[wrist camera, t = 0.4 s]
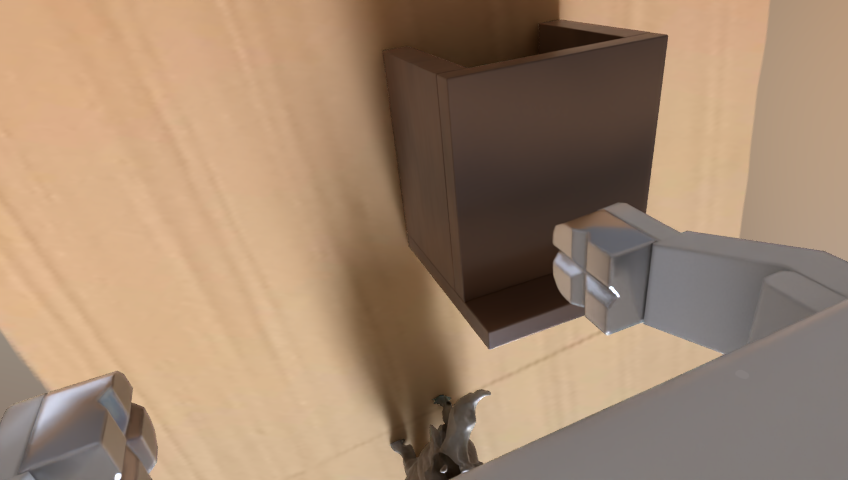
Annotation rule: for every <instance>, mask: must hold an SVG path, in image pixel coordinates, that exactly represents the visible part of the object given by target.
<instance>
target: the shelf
mask: <svg viewBox="0 0 848 480" xmlns="http://www.w3.org/2000/svg"><path fill="white" fill-rule="evenodd" d="M667 41H668V35H665V34H658V33H650V32H645V31H638V30H630V29H623V28H616V27H609V26H602V25H595V24H588V23H581V22H574V21H567V20H554V21H549V22H543V23H539V54H538V55H533V56H528V57H523V58H518V59H512V60H507V61H502V62H497V63H492V64H487V65H482V66H476V67H471V68H466V67H464V66H461V65H458V64H455V63H453V62H450V61H447V60H444V59H442V58H439V57H436V56H433V55H431V54H428V53H425V52H422V51H420V50H417V49H414V48H411V47H409V46H406V47H400V48H394V49H388V50H383V59H384V66H385V73H386V81H387V88H388V96H389V103H390V111H391V118H392V126H393V133H394V140H395V148H396V155H397V163H398V170H399V178H400V185H401V193H402V200H403V207H404V215H405V222H406V230H407V236H408V243H409V247H410V248H411V250H412V251H413V252H414V254H415V255H416V256H417V257H418V259H419V260H420V261H421V263H422V264H423V265H424V266H425V268H426V269H427V270H428V272H429V273H430V274H431V275H432V277H433V278H434V279H435V281H436V282H437V283H438V284H439V286H440V287H441V288H442V290H443V291H444V292H445V293H446V295H447V296H448V297H449V299H450V300H451V301H452V302H453V304H454V305H455V306H456V308H457V309H458V310H459V311H460V313H461V314H462V315H463V317H464V318H465V319H466V320H467V322H468V323H469V324H470V326H471V327H472V328H473V329H474V331H475V332H476V333H477V335H478V336H479V337H480V338H481V340H482V341H483V342H484V344H485V345H486V346H487V347H488V349H493V348H496V347H499V346H501V345H504V344H507V343H510V342H512V341H515V340H518V339H521V338H523V337H526V336H529V335H532V334H534V333H537V332H540V331H543V330H545V329H548V328H551V327H554V326H556V325H559V324H562V323H565V322H567V321H570V320H573V319H576V318H578V317H581V316H584V315H585V310H584V307H581V306H577V305H573V304H571V303H569V302H568V301H567V300H566V299H565V298H564V297H563V296H562V294H561V293H560V291H559V290H558V288H557V285H556V282H555V280H554V277H553V261H554V259H555V257H556V256H557V254H558V252H559V250H558V249H557V248H556V247H555V246H554V245H553V231H554V229H555V226H556V225H558V224H561V223H564V222H567V221H570V220H573V219H575V218H578V217H581V216H584V215H587V214H590V213H593V212H595V211H598V210H599V209H602V208H605V207H607V206H610V205H613V204H615V203H618V202H619V203H627V204H629V205H630V206H632V207H634V208H636V209H638V210H640V211H641V212H643V213H645V214H646V208H647V200H648V192H649V184H650V176H651V168H652V160H653V152H654V144H655V136H656V128H657V120H658V113H659V105H660V97H661V89H662V81H663V73H664V65H665V57H666V49H667Z"/></svg>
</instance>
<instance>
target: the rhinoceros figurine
mask: <svg viewBox="0 0 848 480" xmlns="http://www.w3.org/2000/svg"><path fill="white" fill-rule="evenodd" d="M488 395H491V393H490V392H489V391H486V390H482V389H481V390H477V391H476V392H474V393H469V394H467V395H465V396H463V397H462V398H460V399H459V400H458V401H457V402H456V403H455V404H454V406H453V407H452V404H451V402H450V401H449V400H450V399H451V398H450V397H447V396H444V395H440V396H439V397H437V398H436V399H432V400H435V402H434V404H437V405H438V404H440V405H441V406H442V407H443V410H442V414H443V421H444V423H445V424H443V425H440V426H439V428H438V429H436V428H435V427H434V426H433V425H430V442H429V443H428V444H427V445H426V446H425V447H424V448H423V450H422V451H421V453H420V455H419V457H417V458H416V456H415V452H414V450H413V447H412V446H411V445H403V442H404V441H405V440H404V439H402V440H399V441H396V442H394V443H393V444H391V445H390V446H391V447H392V449H393V450H394V451H396V452H398V453H399V454H400V455H401V456H402V457H403V463H404V467H405V472H406V475H407V477H406V479H405V480H449V479H451V478H453V477H456V476H458V475H460V474H462V473H464V472H467V471H469V470H471V469H473V468H476V467H478V466H480V465H482V464H483V463H482V462H479V461H478V457H477V452H476V449H475V446H474V444H473V442H472V441H471V440H470V439H469V438H470V434H471V431H472V429H473V428H474V426H475V423H476V416H475V408H476V406H477V404H478V401H479V400H480V399H482V398H483V397H484V396H488Z"/></svg>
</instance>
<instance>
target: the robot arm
mask: <svg viewBox="0 0 848 480" xmlns="http://www.w3.org/2000/svg"><path fill="white" fill-rule="evenodd" d="M553 245H554V246H555V247H556V248H557V249H558V250H559V252H558V254H557V256H556V257H555V259H554V261H553V277H554V280H555V282H556V285H557V288H558V290H559V291H560V293H561V294H562V296H563V297H564V298H565V299H566V300H567V301H568V302H569V303H571V304H573V305H577V306H581V307H584V310H585V317H586V318H587V319H588V320H590V321H591V322H592V323H593V324H594V325H595V326H596V327H597V328H599V329H600V330H601V331H602V332H603V333H604V334H605V335H610V334H612V333H615V332H618V331H620V330H623V329H626V328H628V327H631V326H634V325H636V324H639V323H642V322H644V324H645V325H648V326H651V327H653V328H656V329H659V330H661V331H664V332H667V333H669V334H672V335H675V336H677V337H680V338H683V339H685V340H688V341H691V342H693V343H696V344H699V345H701V346H704V347H707V348H709V349H712V350H715V351H717V352H720V353H723V354H725V355H723V356H720V357H718V358H716V359H714V360H712V361H709V362H707V363H705V364H703V365H701V366H698V367H696V368H694V369H692V370H690V371H687V372H685V373H683V374H681V375H679V376H676V377H674V378H672V379H670V380H668V381H665V382H663V383H661V384H659V385H657V386H654V387H652V388H650V389H648V390H645V391H643V392H641V393H639V394H637V395H634V396H632V397H630V398H628V399H626V400H623V401H621V402H619V403H617V404H615V405H612V406H610V407H608V408H606V409H603V410H601V411H599V412H597V413H595V414H592V415H590V416H588V417H586V418H584V419H581V420H579V421H577V422H575V423H573V424H570V425H568V426H566V427H564V428H561V429H559V430H557V431H555V432H553V433H550V434H548V435H546V436H544V437H542V438H539V439H537V440H535V441H533V442H531V443H528V444H526V445H524V446H522V447H520V448H517V449H515V450H513V451H511V452H509V453H506V454H504V455H502V456H500V457H498V458H495V459H493V460H491V461H489V462H487V463H484V464H482V465H480V466H478V467H476V468H473V469H471V470H469V471H467V472H464V473H462V474H460V475H458V476H456V477H453V478H451V479H449V480H848V262H847V261H845V260H843V259H841V258H838V257H836V256H834V255H832V254H830V253H827V252H825V251H820V250H813V249H807V248H800V247H793V246H786V245H779V244H773V243H766V242H758V241H752V240H746V239H739V238H732V237H725V236H719V235H712V234H705V233H698V232H692V231H685V232H683V233H680V232H678V231H676V230H674V229H673V228H671V227H669V226H667V225H665V224H663V223H662V222H660V221H658V220H656V219H654V218H652V217H651V216H649V215H647V214H645V213H643V212H641V211H640V210H638V209H636V208H634V207H632V206H630V205H629V204H627V203H619V202H618V203H615V204H613V205H610V206H607V207H605V208H602V209H599V210H598V211H595V212H593V213H590V214H587V215H584V216H581V217H578V218H575V219H573V220H570V221H567V222H564V223H561V224H558V225H556V226H555V229H554V231H553ZM132 392H133V387H132V386H131V384H130V383H129V381H128V380H127V378H126V376H125V375H124V374H123V373H121V372H119V371H115V372H112V373H109V374H105V375H102V376H99V377H96V378H93V379H89V380H86V381H83V382H80V383H77V384H73V385H70V386H67V387H64V388H61V389H57V390H54V391H51V392H49V393H45V394H42V395H39V396H36V397H33V398H30V399H27V400H24V401H21V402H18V403H15V404H13V405H12V406H10V407H9V408H7V409H6V411H5V413H4V415H3V417H2V420H1V422H0V480H152V478H151V477H150V475H149V473H150V471H151V470H152V469H153V467H154V466H155V464H156V463H157V455H158V446H157V440H156V434H155V429H154V427H153V424H152V421H151V419H150V417H149V415H148V413H147V411H146V410H145V408H144V407H142V406H140V405H137V404H135V403H132V402H131V400H132Z"/></svg>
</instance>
